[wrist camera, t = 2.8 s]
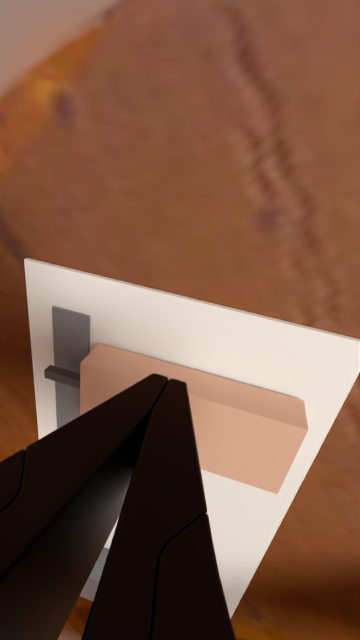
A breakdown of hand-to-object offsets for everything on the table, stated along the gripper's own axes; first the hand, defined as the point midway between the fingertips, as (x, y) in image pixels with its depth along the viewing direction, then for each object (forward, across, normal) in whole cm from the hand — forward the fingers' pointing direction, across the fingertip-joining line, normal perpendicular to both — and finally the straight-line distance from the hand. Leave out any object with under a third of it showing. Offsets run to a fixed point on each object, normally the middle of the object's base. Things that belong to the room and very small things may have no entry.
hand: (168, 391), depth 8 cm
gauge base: (+9, +2, +17) cm, 19 cm away
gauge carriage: (+9, +2, +8) cm, 12 cm away
